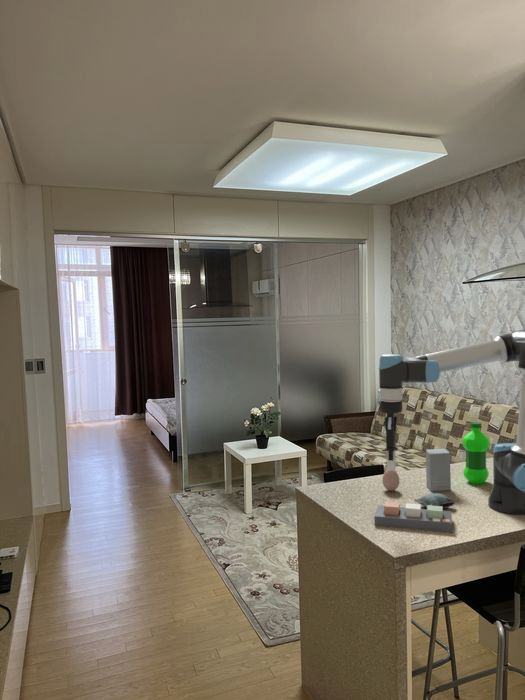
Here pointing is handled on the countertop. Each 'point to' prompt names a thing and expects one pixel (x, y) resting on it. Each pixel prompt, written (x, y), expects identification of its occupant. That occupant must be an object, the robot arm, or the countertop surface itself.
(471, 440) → the plastic bottle
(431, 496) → the packaged food
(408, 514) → the cream key
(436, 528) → the keypad board
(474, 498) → the countertop surface
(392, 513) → the terracotta key
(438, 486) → the skincare box
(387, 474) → the egg
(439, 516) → the sage key
